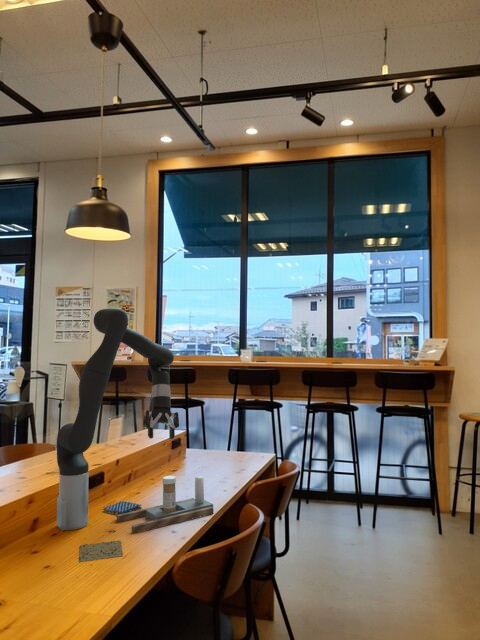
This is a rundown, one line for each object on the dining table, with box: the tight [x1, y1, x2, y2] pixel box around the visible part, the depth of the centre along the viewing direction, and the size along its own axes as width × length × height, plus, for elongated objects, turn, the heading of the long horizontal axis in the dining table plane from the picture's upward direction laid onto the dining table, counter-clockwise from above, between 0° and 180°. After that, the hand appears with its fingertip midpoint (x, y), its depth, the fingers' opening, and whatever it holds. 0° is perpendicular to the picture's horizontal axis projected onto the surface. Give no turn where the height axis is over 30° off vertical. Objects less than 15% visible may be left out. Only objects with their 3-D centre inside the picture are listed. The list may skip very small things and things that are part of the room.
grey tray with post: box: [145, 475, 214, 521], centre depth 168 cm, size 22×9×11 cm, turn 126°
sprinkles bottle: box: [162, 475, 177, 514], centre depth 165 cm, size 5×5×14 cm
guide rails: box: [116, 497, 214, 534], centre depth 164 cm, size 30×14×2 cm, turn 126°
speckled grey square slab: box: [78, 540, 124, 563], centre depth 136 cm, size 12×12×1 cm
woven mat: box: [102, 500, 143, 516], centre depth 172 cm, size 10×11×2 cm
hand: (161, 438), depth 182 cm, fingers open, 8 cm apart
